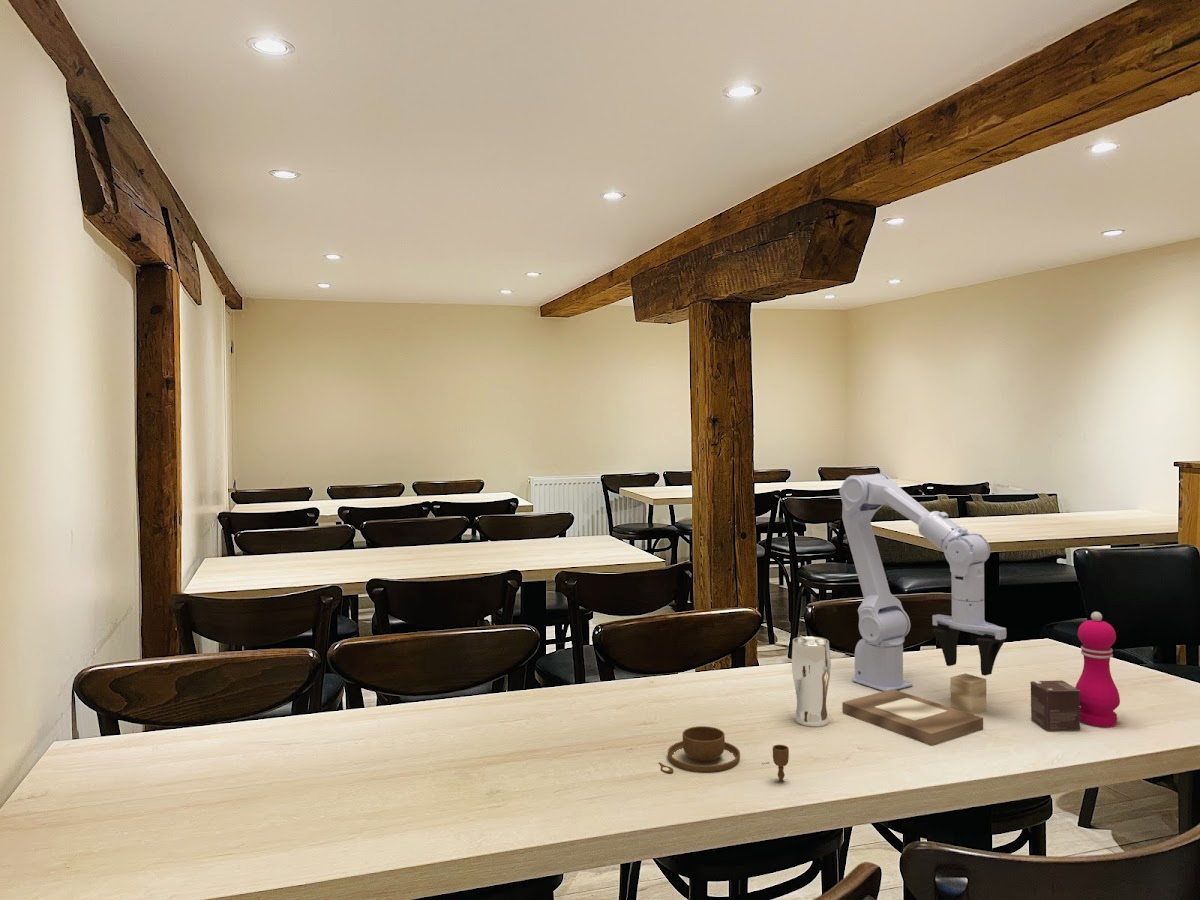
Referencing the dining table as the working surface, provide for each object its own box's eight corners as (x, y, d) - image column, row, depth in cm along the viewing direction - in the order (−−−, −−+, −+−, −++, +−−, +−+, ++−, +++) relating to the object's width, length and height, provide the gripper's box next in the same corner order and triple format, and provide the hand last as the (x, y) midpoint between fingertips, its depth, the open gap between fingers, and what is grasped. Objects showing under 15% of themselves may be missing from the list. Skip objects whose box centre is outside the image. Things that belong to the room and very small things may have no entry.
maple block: (950, 708, 165) (950, 677, 165) (965, 704, 167) (965, 673, 167) (971, 715, 161) (971, 683, 161) (986, 710, 163) (986, 679, 163)
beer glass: (827, 714, 162) (826, 636, 162) (834, 728, 155) (833, 645, 155) (790, 714, 163) (789, 635, 163) (794, 727, 156) (793, 645, 156)
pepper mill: (1126, 729, 152) (1126, 616, 151) (1081, 727, 153) (1081, 615, 153) (1111, 715, 159) (1110, 608, 158) (1068, 713, 160) (1068, 607, 160)
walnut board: (842, 712, 163) (842, 701, 163) (892, 699, 171) (892, 688, 171) (931, 745, 146) (931, 732, 146) (983, 728, 154) (983, 716, 153)
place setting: (735, 742, 152) (734, 709, 151) (797, 786, 133) (796, 748, 133) (642, 757, 146) (642, 722, 146) (694, 805, 127) (693, 766, 127)
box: (1081, 731, 152) (1081, 690, 151) (1046, 732, 152) (1046, 690, 151) (1063, 719, 158) (1063, 679, 157) (1029, 720, 158) (1029, 680, 157)
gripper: (1016, 602, 159) (1016, 675, 160) (948, 590, 172) (949, 657, 172) (992, 607, 156) (993, 681, 156) (925, 594, 168) (925, 663, 168)
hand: (968, 669), depth 164 cm, fingers open, 7 cm apart
